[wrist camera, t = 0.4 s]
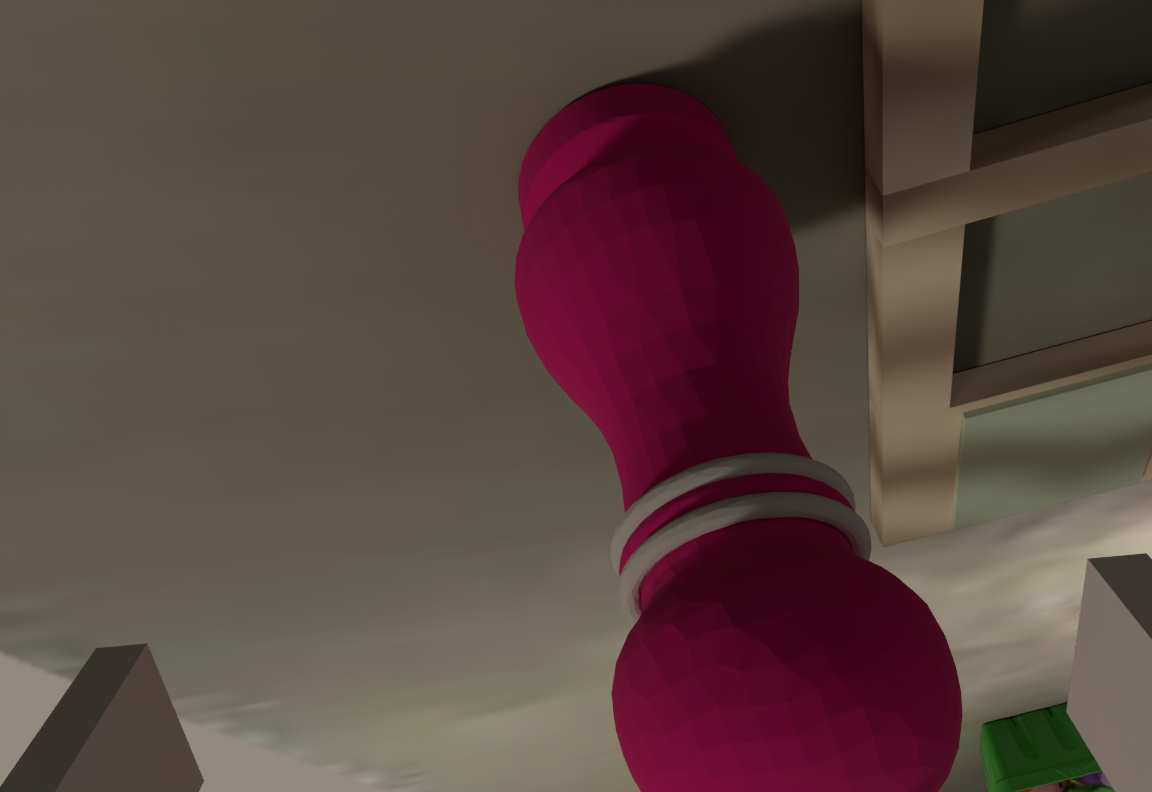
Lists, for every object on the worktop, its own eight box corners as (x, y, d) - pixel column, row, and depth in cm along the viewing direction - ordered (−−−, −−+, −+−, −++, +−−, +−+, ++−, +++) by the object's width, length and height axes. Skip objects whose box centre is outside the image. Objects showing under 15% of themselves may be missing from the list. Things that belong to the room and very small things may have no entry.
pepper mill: (562, 307, 31) (704, 1037, 17) (454, 135, 25) (541, 988, 12) (774, 218, 29) (1107, 941, 16) (705, 16, 24) (1116, 839, 11)
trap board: (858, -201, 21) (887, -174, 20) (1527, -420, 19) (1602, -404, 18) (871, 519, 43) (885, 553, 42) (1183, 439, 42) (1207, 471, 41)
